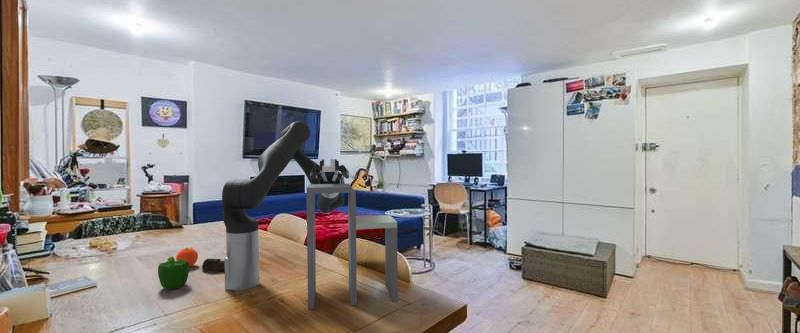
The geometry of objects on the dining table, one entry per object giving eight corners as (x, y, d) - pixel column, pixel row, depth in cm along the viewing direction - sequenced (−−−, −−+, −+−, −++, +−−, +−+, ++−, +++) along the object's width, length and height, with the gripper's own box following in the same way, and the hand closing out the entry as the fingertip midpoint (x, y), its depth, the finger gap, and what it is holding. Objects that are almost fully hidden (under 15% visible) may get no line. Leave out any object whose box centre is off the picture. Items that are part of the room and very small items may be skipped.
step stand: (308, 309, 91) (306, 187, 90) (310, 292, 103) (309, 184, 102) (397, 301, 96) (396, 185, 95) (390, 285, 107) (389, 182, 107)
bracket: (322, 171, 98) (322, 159, 97) (324, 169, 117) (324, 159, 117) (335, 171, 98) (334, 159, 98) (334, 169, 118) (334, 159, 118)
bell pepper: (173, 281, 112) (173, 251, 112) (195, 283, 111) (194, 252, 110) (150, 291, 104) (149, 258, 104) (173, 293, 102) (172, 259, 102)
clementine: (183, 263, 132) (183, 245, 132) (202, 262, 133) (202, 244, 132) (172, 270, 124) (171, 250, 124) (192, 269, 125) (192, 249, 124)
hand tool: (257, 270, 124) (257, 257, 124) (252, 273, 120) (252, 260, 120) (207, 269, 126) (207, 256, 126) (200, 272, 122) (200, 259, 122)
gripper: (310, 175, 127) (307, 151, 112) (349, 175, 130) (350, 151, 115) (309, 194, 124) (306, 172, 109) (349, 193, 127) (351, 171, 112)
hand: (329, 161), depth 112 cm, fingers closed on bracket, 3 cm apart
